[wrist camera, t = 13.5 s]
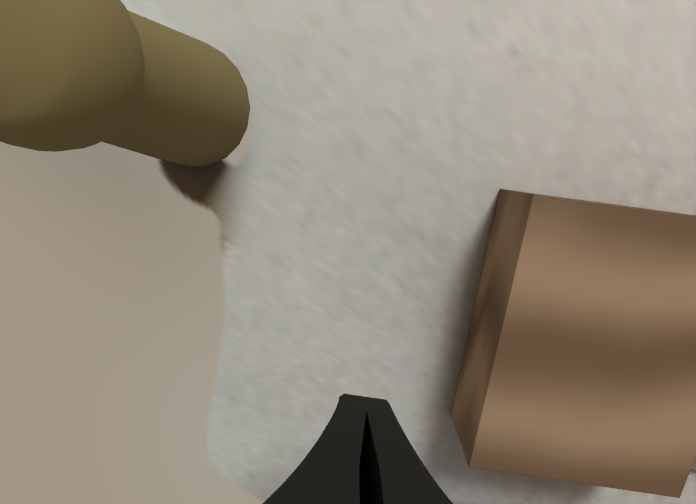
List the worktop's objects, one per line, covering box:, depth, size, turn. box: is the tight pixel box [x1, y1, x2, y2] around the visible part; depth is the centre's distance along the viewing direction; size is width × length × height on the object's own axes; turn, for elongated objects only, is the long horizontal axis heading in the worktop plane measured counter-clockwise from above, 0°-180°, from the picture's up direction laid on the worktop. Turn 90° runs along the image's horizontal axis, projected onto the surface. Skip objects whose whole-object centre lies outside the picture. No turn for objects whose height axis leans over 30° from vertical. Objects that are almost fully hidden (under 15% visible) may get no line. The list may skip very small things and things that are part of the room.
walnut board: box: [451, 189, 696, 498], centre depth 19 cm, size 13×10×4 cm
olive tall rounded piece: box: [0, 0, 250, 167], centre depth 14 cm, size 6×6×11 cm
